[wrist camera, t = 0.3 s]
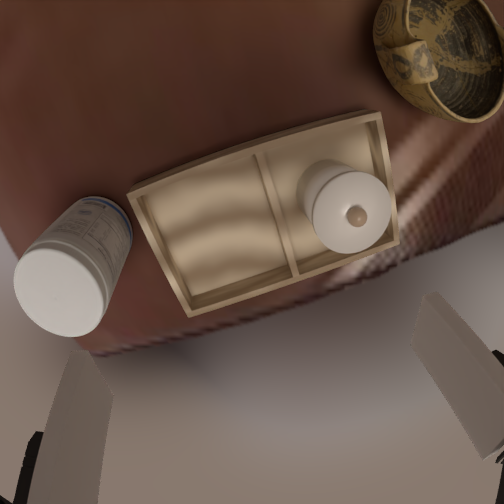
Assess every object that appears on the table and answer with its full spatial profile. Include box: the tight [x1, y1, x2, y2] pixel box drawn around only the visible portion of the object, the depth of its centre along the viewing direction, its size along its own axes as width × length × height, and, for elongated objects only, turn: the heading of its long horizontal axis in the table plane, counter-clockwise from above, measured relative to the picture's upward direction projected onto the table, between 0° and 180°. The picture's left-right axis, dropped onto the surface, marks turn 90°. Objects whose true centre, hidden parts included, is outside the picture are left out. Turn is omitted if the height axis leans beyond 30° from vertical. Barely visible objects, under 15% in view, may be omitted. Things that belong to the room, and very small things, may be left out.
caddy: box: [126, 109, 400, 318], centre depth 37 cm, size 17×28×4 cm, turn 108°
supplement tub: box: [14, 196, 133, 337], centre depth 30 cm, size 10×10×15 cm
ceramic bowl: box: [373, 0, 504, 123], centre depth 24 cm, size 22×17×15 cm
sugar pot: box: [296, 159, 392, 254], centre depth 33 cm, size 9×9×9 cm
